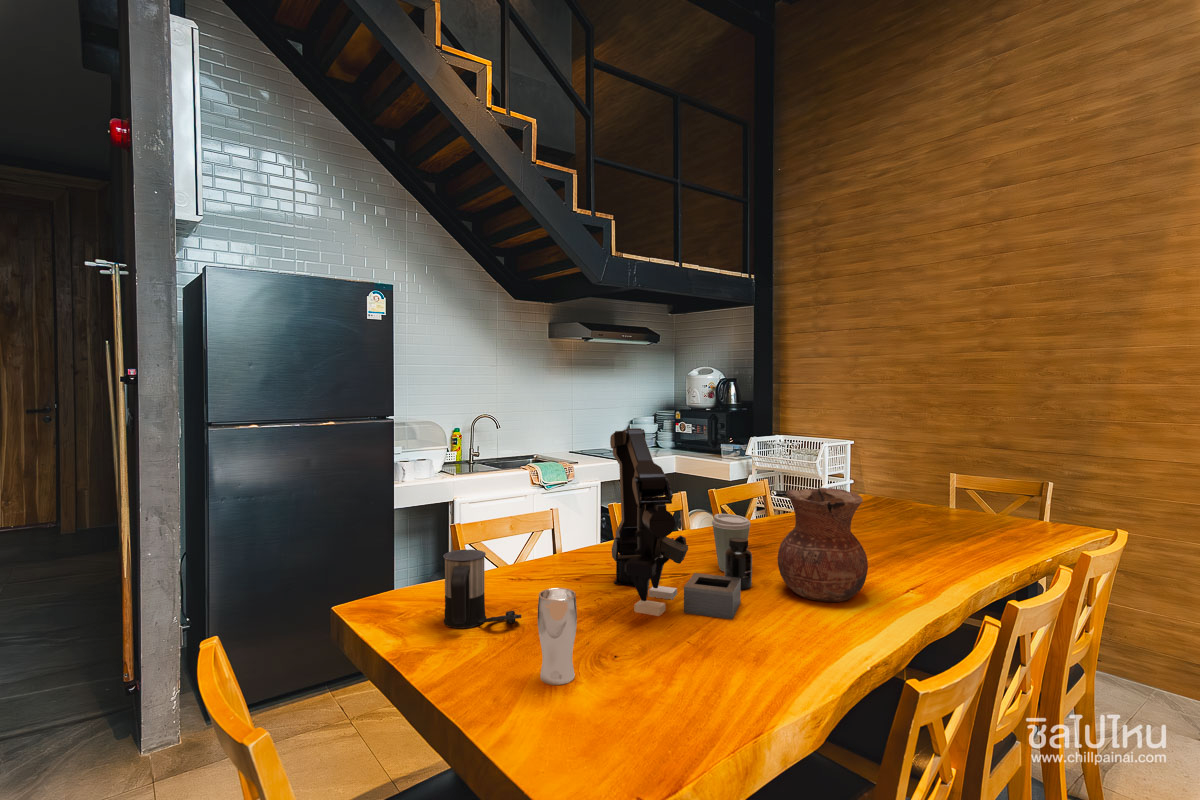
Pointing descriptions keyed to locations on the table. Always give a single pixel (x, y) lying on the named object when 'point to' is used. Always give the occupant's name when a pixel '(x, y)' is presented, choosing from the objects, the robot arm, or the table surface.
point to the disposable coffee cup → (728, 533)
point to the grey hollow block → (712, 595)
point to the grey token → (663, 592)
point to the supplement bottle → (739, 561)
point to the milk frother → (467, 590)
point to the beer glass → (557, 634)
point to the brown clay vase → (823, 546)
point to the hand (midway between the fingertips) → (649, 594)
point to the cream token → (649, 607)
